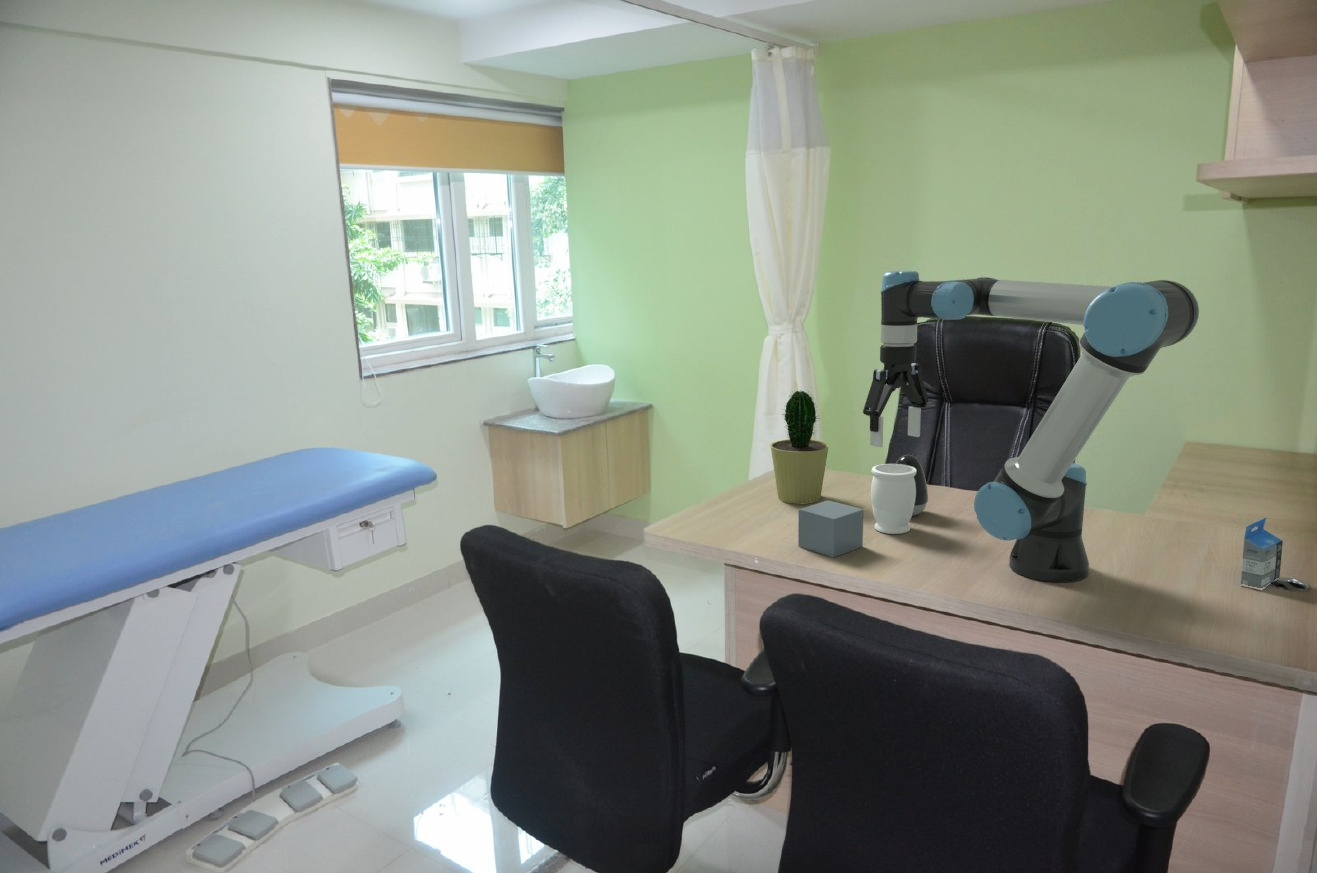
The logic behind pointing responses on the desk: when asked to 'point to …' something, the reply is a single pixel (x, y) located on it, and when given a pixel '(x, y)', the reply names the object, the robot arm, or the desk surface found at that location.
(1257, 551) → the label tape box
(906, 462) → the dark gray tall dome
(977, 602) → the desk surface
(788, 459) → the potted cactus
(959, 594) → the desk surface
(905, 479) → the jar
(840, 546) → the slate gray cube
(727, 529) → the desk surface
